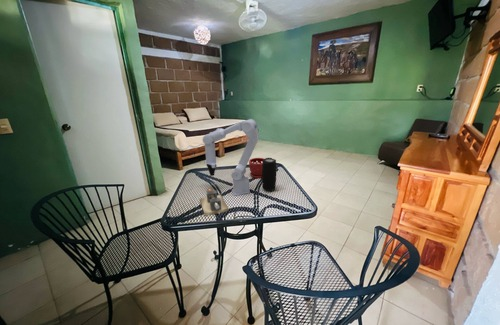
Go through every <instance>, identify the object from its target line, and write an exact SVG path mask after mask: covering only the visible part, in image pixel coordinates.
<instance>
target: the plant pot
mask: <svg viewBox="0 0 500 325" xmlns="http://www.w3.org/2000/svg"><path fill="white" fill-rule="evenodd" d="M264 159H265V158H264V157H254V158H250V159H249V161H248V166H249V171H250V173H249V174H250V176H251V177H252V178H254V179H262V178H261V177H262V165H263V160H264Z"/></svg>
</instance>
